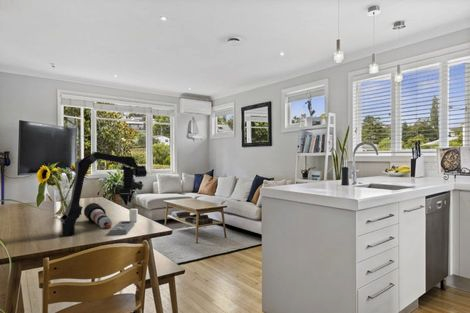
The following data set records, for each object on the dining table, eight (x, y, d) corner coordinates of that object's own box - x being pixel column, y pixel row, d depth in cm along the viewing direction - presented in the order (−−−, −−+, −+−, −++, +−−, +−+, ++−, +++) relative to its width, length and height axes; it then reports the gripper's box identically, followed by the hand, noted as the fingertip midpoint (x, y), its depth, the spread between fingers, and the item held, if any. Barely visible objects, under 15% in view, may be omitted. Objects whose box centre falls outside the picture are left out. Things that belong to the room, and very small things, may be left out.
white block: (136, 223, 179) (136, 209, 179) (129, 223, 179) (129, 210, 179) (137, 221, 183) (137, 208, 183) (131, 222, 183) (130, 208, 183)
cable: (104, 239, 164) (95, 224, 160) (88, 221, 191) (80, 208, 187) (121, 228, 170) (113, 214, 166) (103, 212, 196) (96, 199, 192)
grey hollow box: (126, 236, 154) (126, 228, 154) (110, 237, 153) (110, 229, 153) (134, 226, 174) (134, 219, 173) (120, 227, 173) (119, 220, 172)
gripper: (139, 178, 170) (139, 206, 170) (145, 176, 189) (144, 201, 189) (118, 178, 169) (118, 206, 169) (126, 176, 187) (126, 201, 187)
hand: (128, 203), depth 178 cm, fingers open, 9 cm apart
